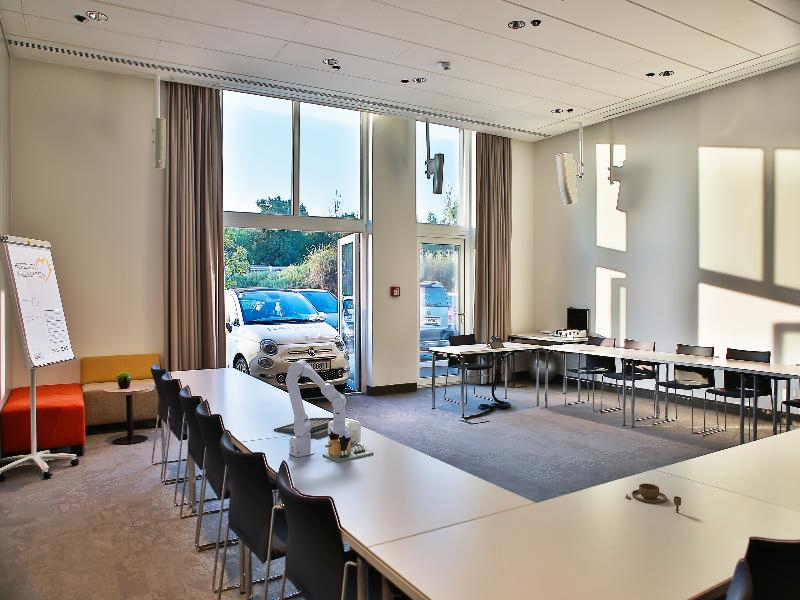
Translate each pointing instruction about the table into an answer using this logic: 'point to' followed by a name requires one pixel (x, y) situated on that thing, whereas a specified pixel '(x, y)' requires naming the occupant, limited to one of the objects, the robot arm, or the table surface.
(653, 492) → the place setting
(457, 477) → the table surface
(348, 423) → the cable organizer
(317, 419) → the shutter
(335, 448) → the block
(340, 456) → the twin bulb fixture
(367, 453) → the board
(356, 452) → the led bulb strip
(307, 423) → the robot arm
